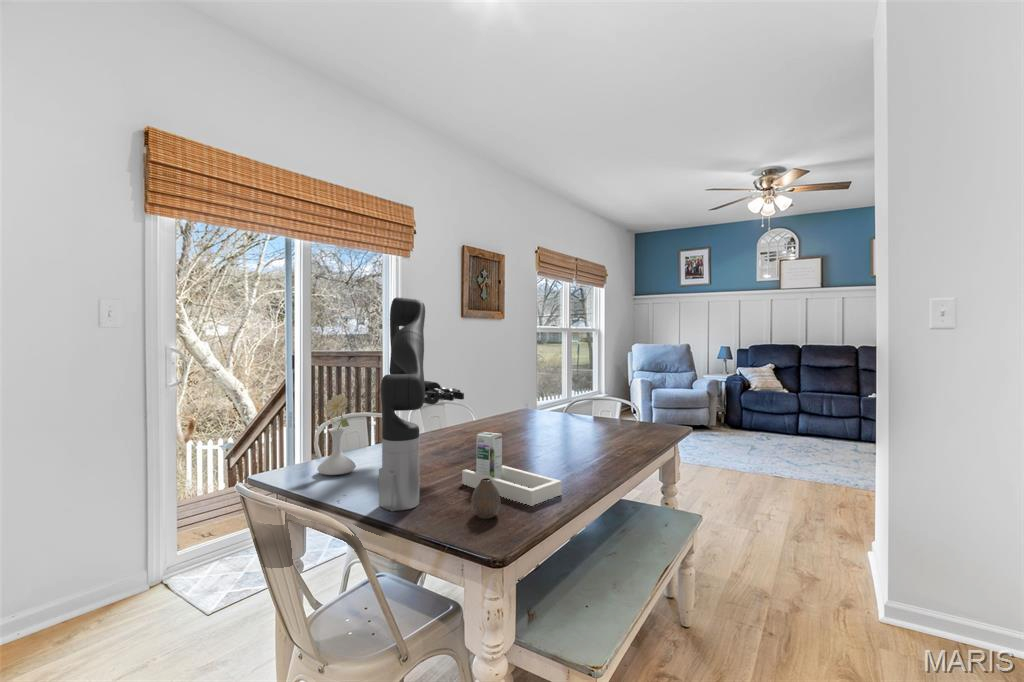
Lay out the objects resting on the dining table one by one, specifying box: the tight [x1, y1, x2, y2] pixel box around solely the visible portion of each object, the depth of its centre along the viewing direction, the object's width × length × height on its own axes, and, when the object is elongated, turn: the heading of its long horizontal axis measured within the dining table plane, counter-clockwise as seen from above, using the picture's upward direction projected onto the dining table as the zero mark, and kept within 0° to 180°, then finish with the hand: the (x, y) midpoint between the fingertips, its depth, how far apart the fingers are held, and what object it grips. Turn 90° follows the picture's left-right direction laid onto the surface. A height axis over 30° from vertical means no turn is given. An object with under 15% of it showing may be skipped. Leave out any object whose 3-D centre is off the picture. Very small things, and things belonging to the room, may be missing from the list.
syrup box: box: [475, 431, 503, 480], centre depth 143 cm, size 6×6×14 cm
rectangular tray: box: [461, 464, 563, 507], centre depth 138 cm, size 12×27×4 cm, turn 46°
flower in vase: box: [317, 393, 357, 476], centre depth 153 cm, size 13×11×25 cm
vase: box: [471, 478, 501, 520], centre depth 118 cm, size 7×7×9 cm
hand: (457, 396), depth 153 cm, fingers open, 3 cm apart
